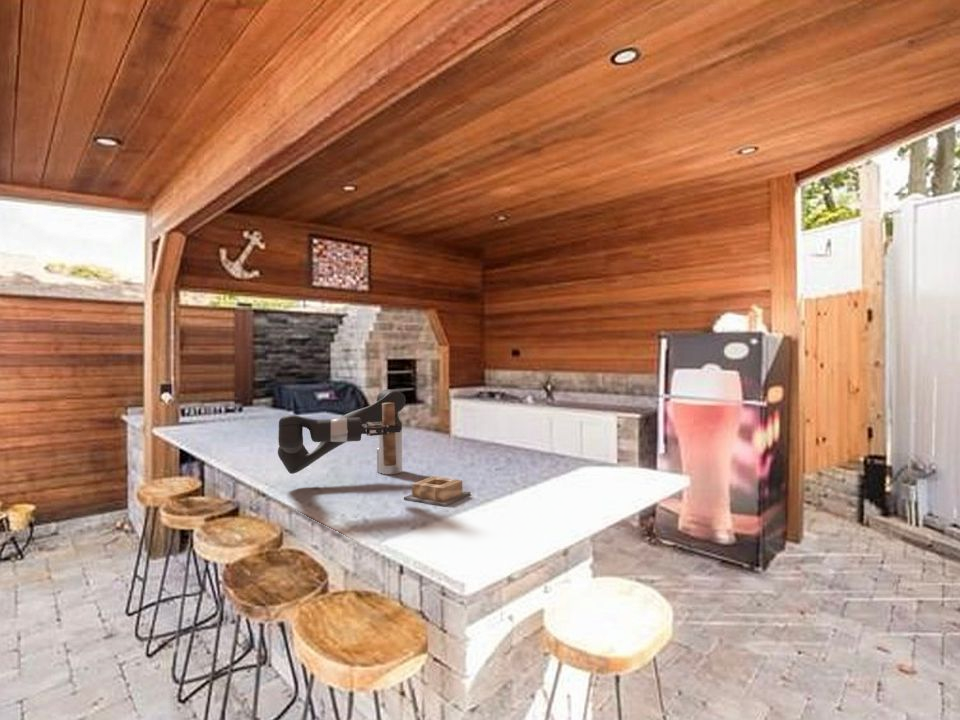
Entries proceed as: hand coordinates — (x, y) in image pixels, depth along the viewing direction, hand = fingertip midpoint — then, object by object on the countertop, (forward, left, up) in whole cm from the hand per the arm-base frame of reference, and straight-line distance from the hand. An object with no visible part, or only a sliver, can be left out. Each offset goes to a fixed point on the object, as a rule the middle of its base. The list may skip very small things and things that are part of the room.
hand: (399, 427), depth 176 cm
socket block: (+9, +9, -24) cm, 27 cm away
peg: (-2, -2, -12) cm, 12 cm away
